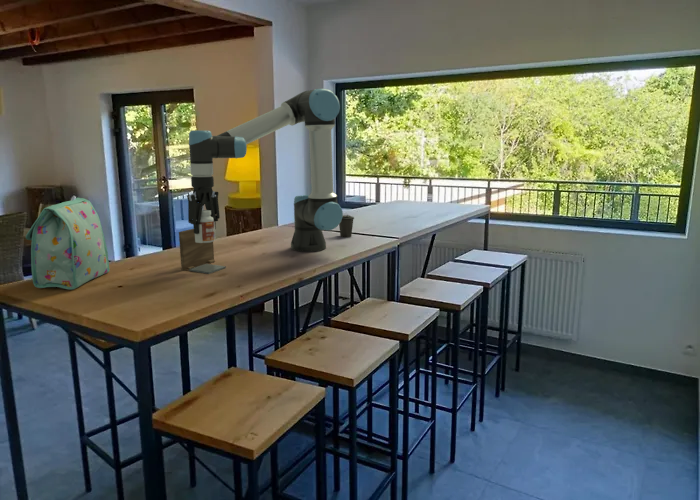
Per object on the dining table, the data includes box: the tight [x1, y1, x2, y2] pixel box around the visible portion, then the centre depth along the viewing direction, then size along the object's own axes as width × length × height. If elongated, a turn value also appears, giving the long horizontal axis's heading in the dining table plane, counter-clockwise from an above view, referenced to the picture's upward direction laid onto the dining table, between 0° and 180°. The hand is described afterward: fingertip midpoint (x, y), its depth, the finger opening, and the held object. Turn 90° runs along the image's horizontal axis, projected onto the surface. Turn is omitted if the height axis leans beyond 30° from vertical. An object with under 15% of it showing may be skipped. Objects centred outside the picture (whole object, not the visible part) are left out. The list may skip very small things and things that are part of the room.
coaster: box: [188, 263, 226, 275], centre depth 184 cm, size 9×9×1 cm
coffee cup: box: [338, 214, 355, 238], centre depth 244 cm, size 8×8×10 cm
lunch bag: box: [25, 197, 111, 290], centre depth 166 cm, size 23×16×27 cm
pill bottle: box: [196, 209, 216, 243], centre depth 180 cm, size 6×6×11 cm
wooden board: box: [178, 228, 216, 271], centre depth 188 cm, size 4×16×14 cm, turn 155°
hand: (205, 240), depth 181 cm, fingers closed on pill bottle, 6 cm apart
